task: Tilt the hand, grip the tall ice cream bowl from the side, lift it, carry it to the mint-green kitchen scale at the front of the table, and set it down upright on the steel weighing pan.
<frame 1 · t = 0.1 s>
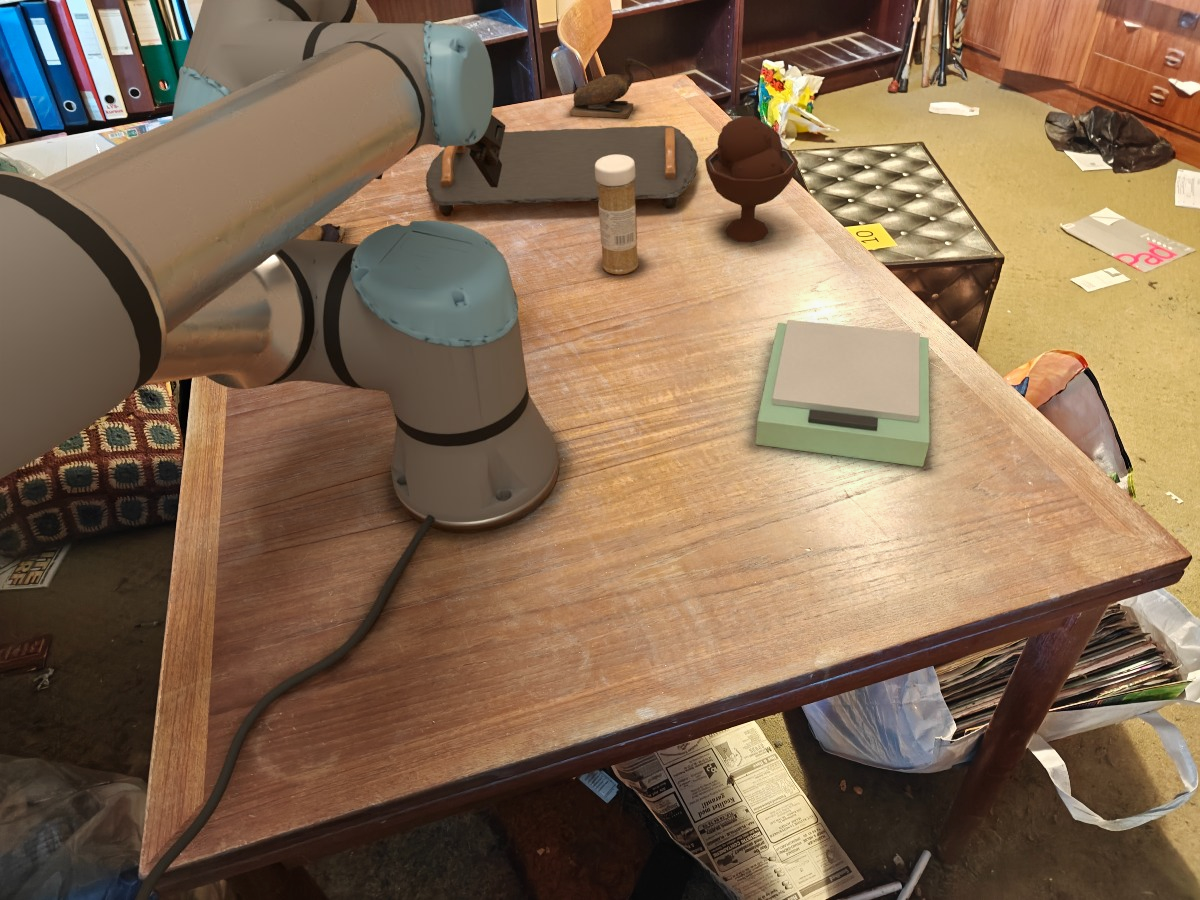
hand: (438, 172, 93), 15 cm above the table, tool tilted 35°, fingers open, 13 cm apart
sprinkles bottle: (620, 267, 105), on the table
pastry: (341, 326, 100), on the table
ice cream bowl: (746, 232, 110), on the table
open sandwich: (307, 252, 113), on the table
kitchen scale: (842, 401, 84), on the table
figurine: (614, 113, 141), on the table
serving tray: (563, 181, 124), on the table
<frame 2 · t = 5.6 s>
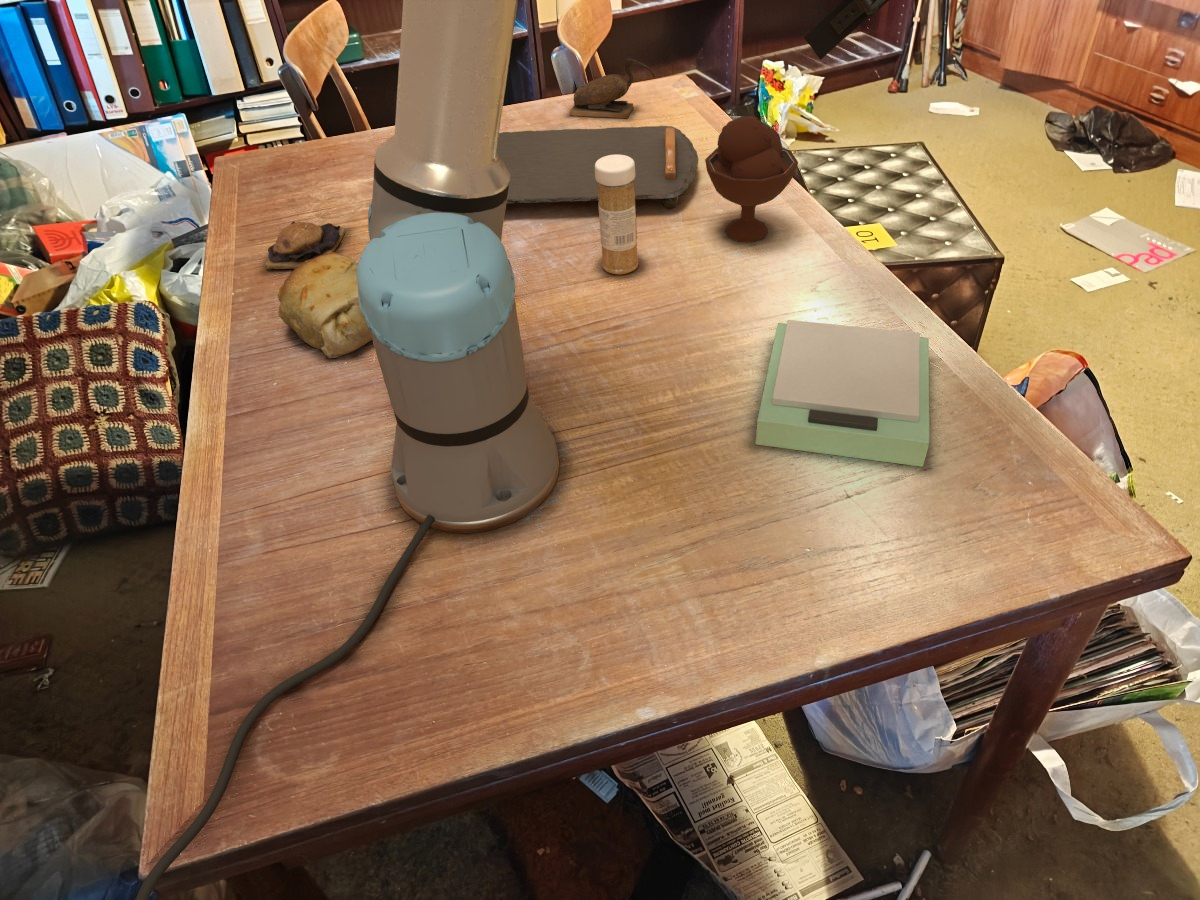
hand: (839, 25, 88), 26 cm above the table, tool tilted 45°, fingers open, 13 cm apart
nothing on the table moved.
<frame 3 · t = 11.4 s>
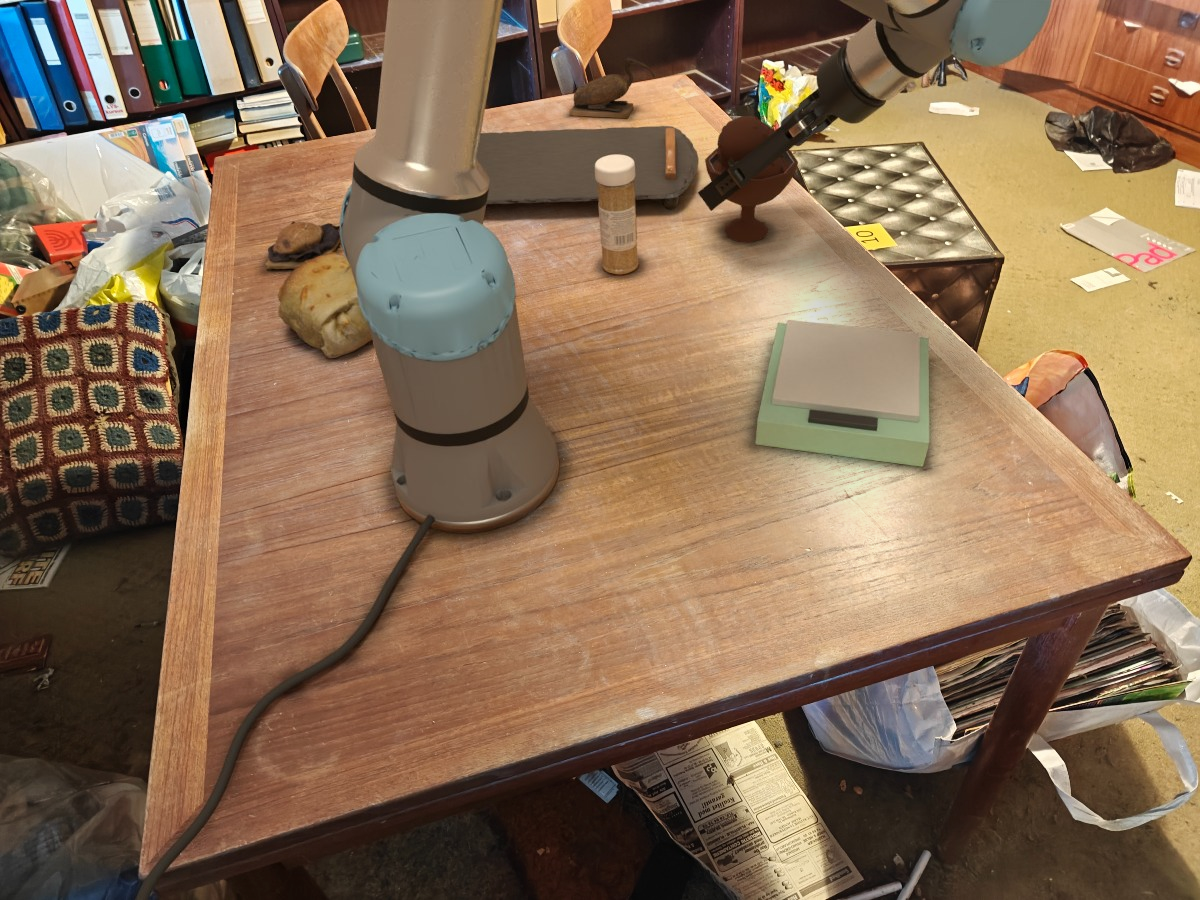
hand: (729, 181, 107), 6 cm above the table, tool tilted 45°, fingers closed on ice cream bowl, 11 cm apart
ice cream bowl: (746, 232, 110), on the table, touching gripper
everything else where it was.
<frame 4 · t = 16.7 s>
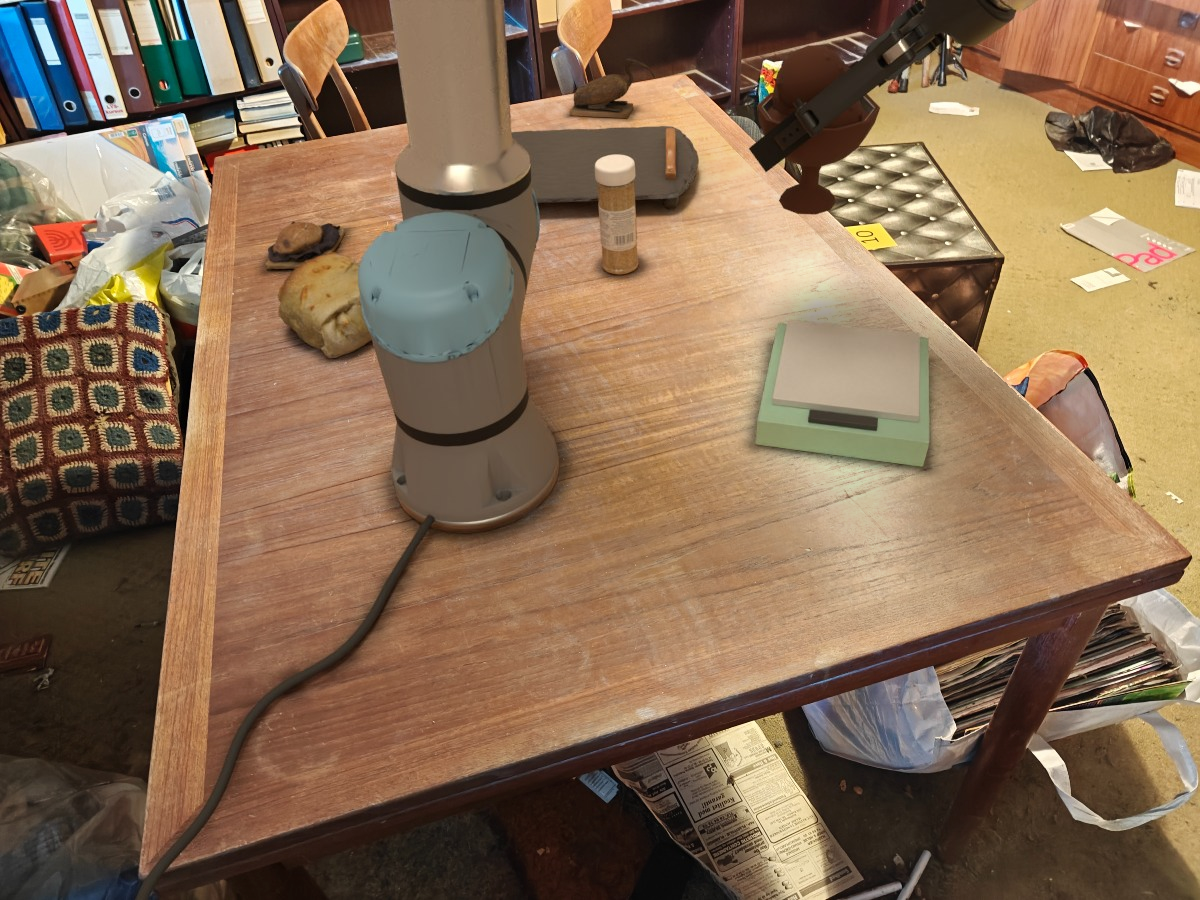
hand: (787, 135, 82), 20 cm above the table, tool tilted 45°, fingers closed on ice cream bowl, 11 cm apart
ice cream bowl: (806, 203, 86), point 14 cm above the table, touching gripper
everything else where it was.
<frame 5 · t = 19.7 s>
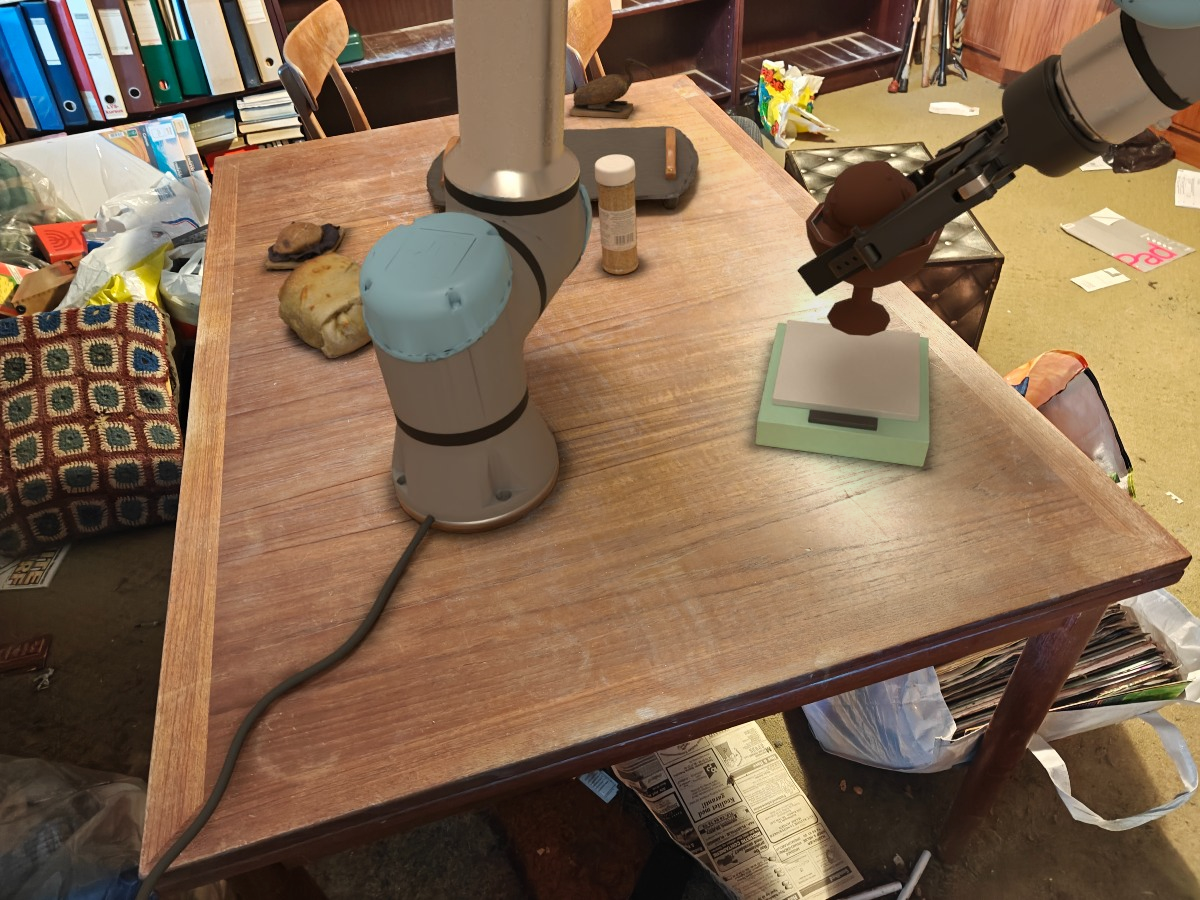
hand: (837, 249, 74), 16 cm above the table, tool tilted 45°, fingers closed on ice cream bowl, 11 cm apart
ice cream bowl: (858, 320, 78), point 10 cm above the table, touching gripper
everything else where it was.
when the fingers open (10 cm above the table, at t = 22.0 s): ice cream bowl stays where it is, resting on kitchen scale.
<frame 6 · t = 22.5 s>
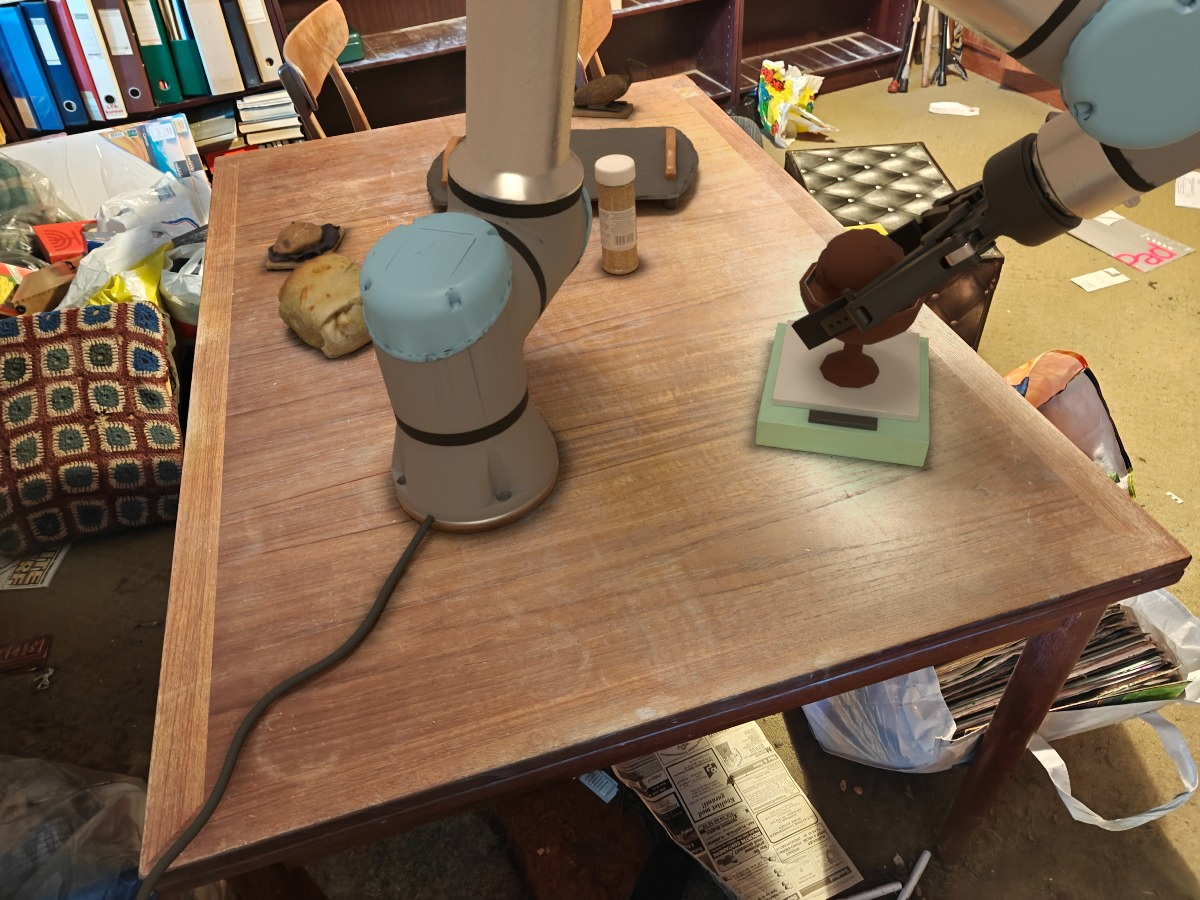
hand: (834, 298, 78), 11 cm above the table, tool tilted 45°, fingers open, 13 cm apart
ice cream bowl: (848, 372, 82), point 4 cm above the table, touching kitchen scale
everything else where it was.
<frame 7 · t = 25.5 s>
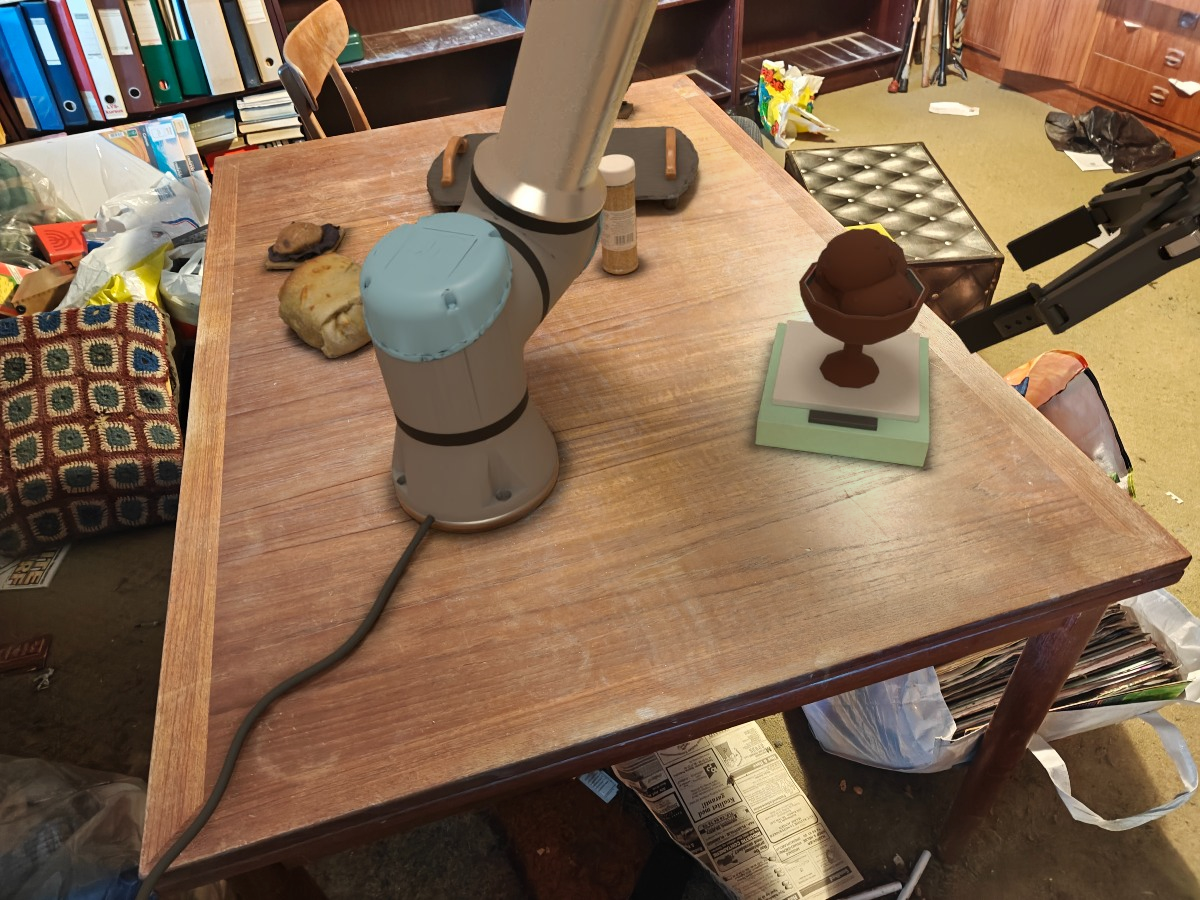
hand: (990, 295, 69), 15 cm above the table, tool tilted 45°, fingers open, 13 cm apart
nothing on the table moved.
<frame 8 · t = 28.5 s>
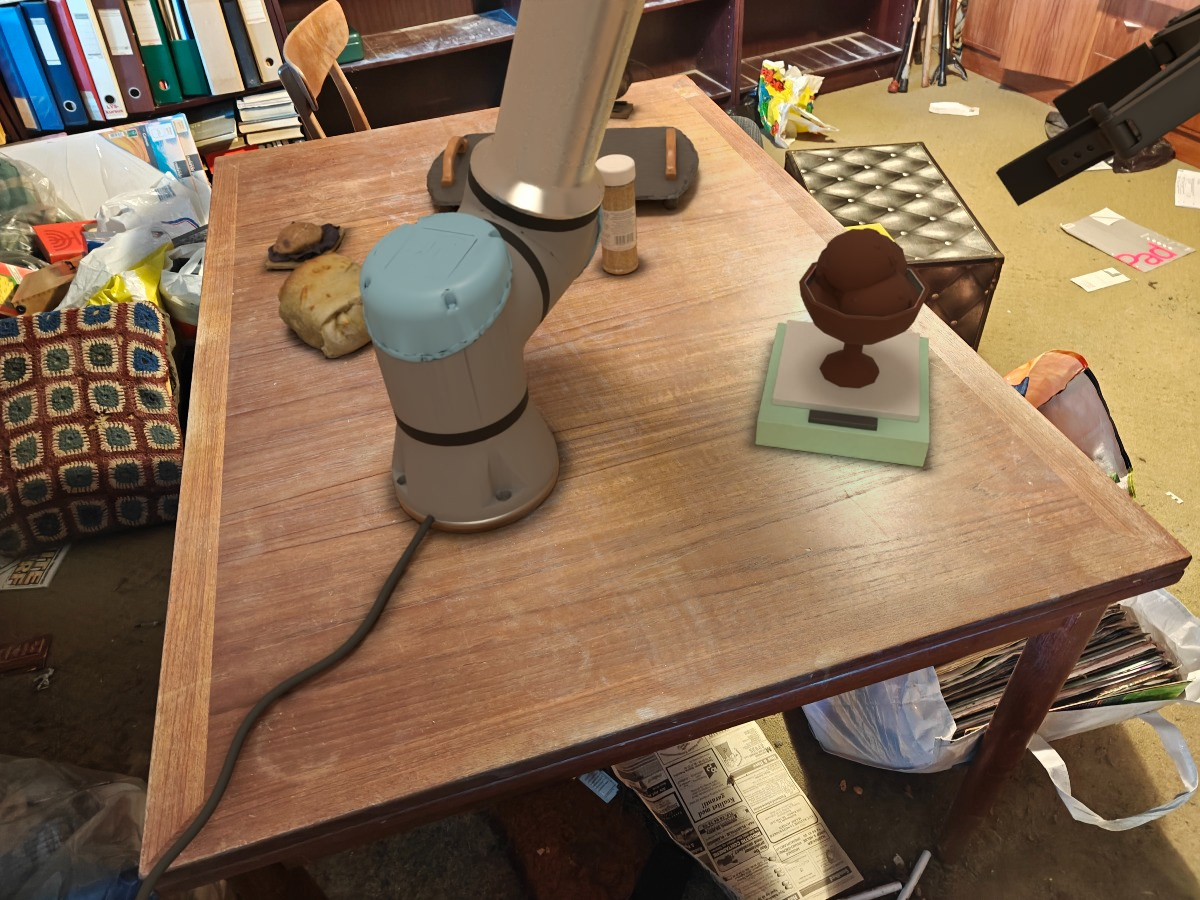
hand: (1036, 149, 60), 28 cm above the table, tool tilted 45°, fingers open, 13 cm apart
nothing on the table moved.
at the end: ice cream bowl inside the target area on the kitchen scale (1.0 cm from its centre), point 3.6 cm above the kitchen scale's base; ice cream bowl tilted 0°; the gripper is holding nothing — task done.
